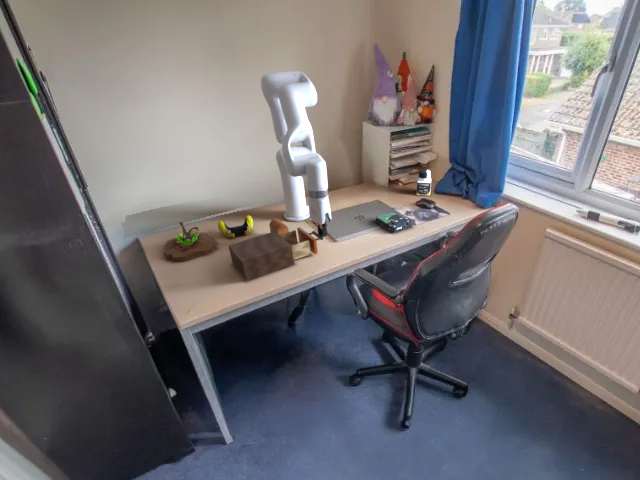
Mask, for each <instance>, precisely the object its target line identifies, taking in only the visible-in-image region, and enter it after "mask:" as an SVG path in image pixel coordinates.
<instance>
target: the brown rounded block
mask: <svg viewBox="0 0 640 480" xmlns="http://www.w3.org/2000/svg"><path fill="white" fill-rule="evenodd" d="M268 226H269V231H270V233H272V232H276V233H277V234H278V235H280V234H284V233H287V232H290V231H289V230H290V229H289V227H288V225H286V224H285V223H284V222H282V221H281V219H278V218H273V219H271V220H270V222H269V225H268Z"/></svg>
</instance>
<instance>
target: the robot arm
mask: <svg viewBox="0 0 640 480" xmlns="http://www.w3.org/2000/svg"><path fill="white" fill-rule="evenodd" d="M260 87H261V91H262V95H263V97H264V99H265V102H266V103H267V105H268V107H269V111H270V114H271V115H270V116H271V120H272V126H273V131H274V135H275V139H276V141H277V142H278V143H279V144H280V145H281V148H280V149H278V150H277V152H276V154H275V160H276V163H277V167H278V169H279V174H280V179H281V184H282V185H281V186H282V190H283V197H284V204H285V212H284V213H283V217H284V219H285V220H286V221H289V222H301V221H304V220H307V219H309V218H310V219H311V220H312V221H315V224H316V227H317V233H318V234H319V235H321V236H322V237H323V238H325V237H327V236H328V229H327V228H328V227H330V223H331V222H332V211H331V204H330V200H329V196H330V195H329V184H328V171H327V163H326V161H325V159H324V158H323V157H322V156H321V154H319V153H317V150H316V143H315V138H314V137H315V136H314V131H313V127H312V125H311V122H310V121H309V118H308V114H307V111H306V108H308V107H309V108H310V107H315V106H316V105H317V102H318V92H317V90H316V87H315V85H314V83H313V82H312V81H311V80H310V78H309V77H308V76H307V75H306V74H305V73H304V72H303V71H300V70H293V71H276V72H275V71H274V72H269V73H266V74H264V75H262V77H261V79H260ZM299 143H302V145H301V144H300V145H296V146H295V145H294V146H291V144H299ZM305 176H306V182H307V190H308V204H307V200H306V199H307V198H306V192H305V191H306V190H305V184H304V183H305V182H304V177H305Z"/></svg>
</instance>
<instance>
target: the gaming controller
mask: <svg viewBox="0 0 640 480" xmlns="http://www.w3.org/2000/svg"><path fill="white" fill-rule="evenodd" d="M217 228H218V231H219V232H220V233H221V234H222V235H223V236H225V237H226V238H237V237H242V236H247V235H249V234H251V233H253V230H254V220H253V217H252V216H251V215H246V216H245V218H244V222H243V224H241V225H237V226H233V227H231V226H228V225H227V224H226V223H225V222H224V221H223V220H219V221H218V222H217Z"/></svg>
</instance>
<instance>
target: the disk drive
mask: <svg viewBox="0 0 640 480" xmlns="http://www.w3.org/2000/svg"><path fill="white" fill-rule="evenodd" d="M375 216H376V217H375V218H374V219H375V222H376V223H377V224H378V225H380V226H382V227H383V228H385V229H387V230H388V231H389V232H391V233H395V234H396V233H399V232H402V231H405V230H409V229H411V228H413V224H414V223H413V221H412V220H409V219H407V218H406V217H404V216H402V215H400V214H399V213H397V212H395V211H390V212H387V213H384V214H381V215H375Z"/></svg>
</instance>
